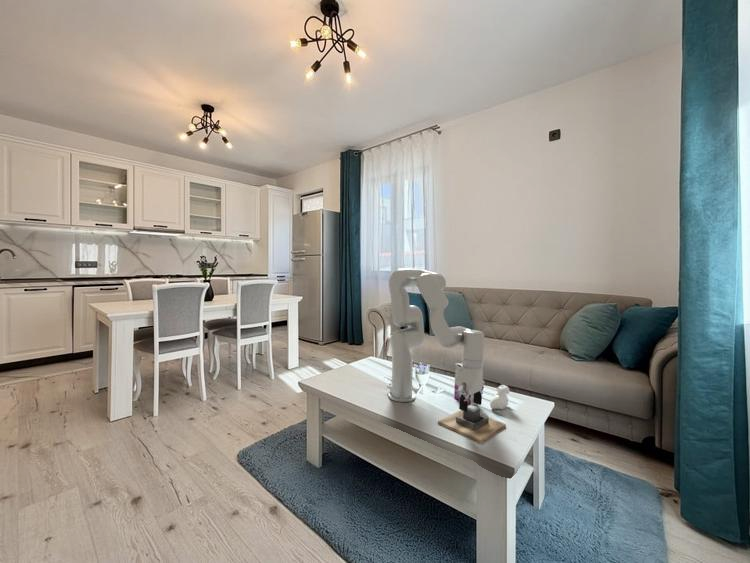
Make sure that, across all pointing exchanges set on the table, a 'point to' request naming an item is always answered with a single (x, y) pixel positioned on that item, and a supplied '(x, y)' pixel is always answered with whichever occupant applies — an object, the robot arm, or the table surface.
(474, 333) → the robot arm
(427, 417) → the table surface
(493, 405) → the bust
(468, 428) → the end holder
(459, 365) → the candy bar box
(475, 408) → the connector plug
